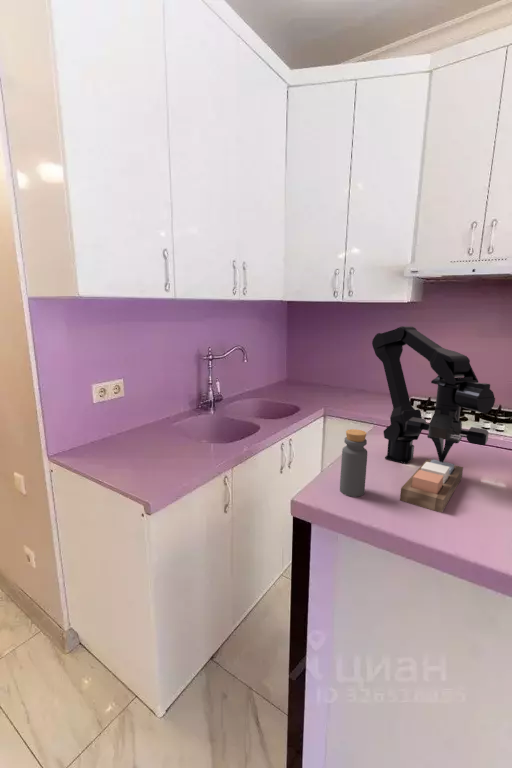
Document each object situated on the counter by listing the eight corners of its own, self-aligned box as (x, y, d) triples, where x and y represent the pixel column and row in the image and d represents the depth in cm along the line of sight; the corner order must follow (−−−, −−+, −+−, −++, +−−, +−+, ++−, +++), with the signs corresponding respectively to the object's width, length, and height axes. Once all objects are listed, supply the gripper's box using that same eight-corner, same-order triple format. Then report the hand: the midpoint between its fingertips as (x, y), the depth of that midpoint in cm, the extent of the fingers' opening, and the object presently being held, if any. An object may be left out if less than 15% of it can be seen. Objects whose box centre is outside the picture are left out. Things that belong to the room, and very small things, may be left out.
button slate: (426, 477, 100) (427, 465, 99) (431, 471, 104) (432, 459, 103) (448, 483, 96) (450, 470, 96) (452, 476, 101) (454, 464, 100)
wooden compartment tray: (399, 500, 88) (401, 488, 87) (426, 469, 107) (427, 458, 106) (441, 512, 83) (443, 500, 82) (461, 477, 101) (463, 467, 101)
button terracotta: (411, 490, 88) (412, 476, 88) (417, 483, 93) (419, 469, 92) (436, 497, 85) (438, 483, 84) (441, 489, 89) (443, 475, 89)
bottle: (365, 488, 94) (369, 430, 91) (363, 498, 88) (368, 437, 86) (341, 484, 96) (344, 427, 93) (338, 494, 90) (342, 433, 87)
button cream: (419, 481, 94) (421, 467, 93) (425, 474, 98) (426, 461, 97) (443, 487, 91) (444, 473, 90) (448, 480, 95) (449, 466, 94)
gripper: (401, 403, 96) (395, 461, 98) (486, 416, 85) (477, 481, 87) (413, 396, 105) (408, 450, 107) (492, 407, 93) (484, 467, 96)
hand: (441, 461), depth 99 cm, fingers closed
